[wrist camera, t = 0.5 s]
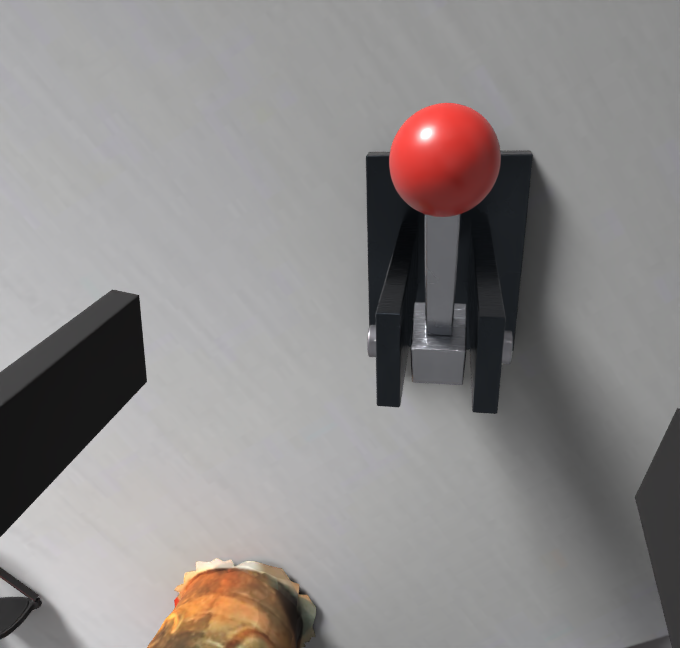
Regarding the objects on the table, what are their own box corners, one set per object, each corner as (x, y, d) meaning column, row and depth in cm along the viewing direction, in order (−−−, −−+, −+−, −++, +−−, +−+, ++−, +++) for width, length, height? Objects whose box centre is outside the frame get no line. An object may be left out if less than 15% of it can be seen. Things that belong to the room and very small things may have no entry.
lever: (391, 81, 17) (380, 155, 15) (505, 77, 17) (508, 153, 15) (405, 329, 28) (400, 390, 26) (474, 332, 27) (474, 394, 26)
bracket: (368, 152, 34) (320, 218, 22) (530, 150, 33) (574, 221, 21) (371, 336, 40) (334, 472, 27) (511, 343, 38) (537, 490, 26)
